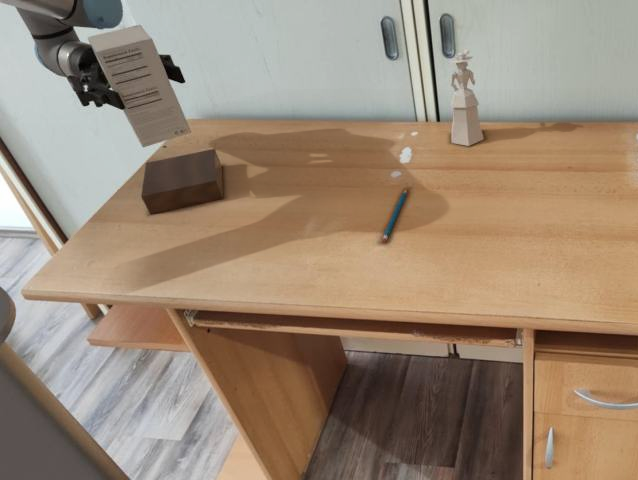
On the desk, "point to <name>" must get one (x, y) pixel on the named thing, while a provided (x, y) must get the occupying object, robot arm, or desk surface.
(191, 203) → the block
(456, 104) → the figurine
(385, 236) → the pencil
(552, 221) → the desk surface
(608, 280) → the desk surface
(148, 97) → the supplement box
